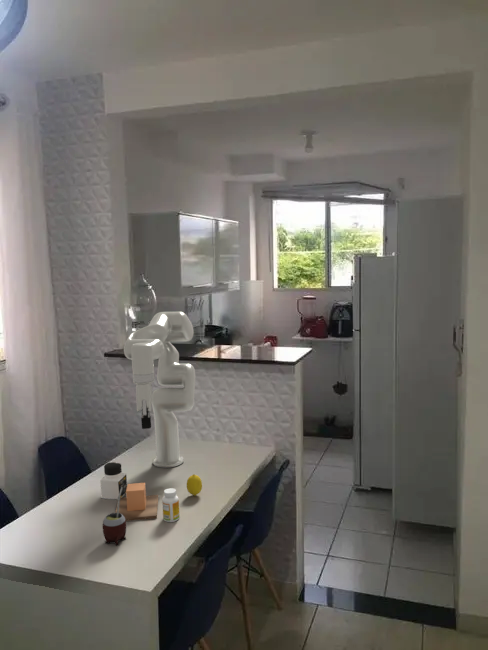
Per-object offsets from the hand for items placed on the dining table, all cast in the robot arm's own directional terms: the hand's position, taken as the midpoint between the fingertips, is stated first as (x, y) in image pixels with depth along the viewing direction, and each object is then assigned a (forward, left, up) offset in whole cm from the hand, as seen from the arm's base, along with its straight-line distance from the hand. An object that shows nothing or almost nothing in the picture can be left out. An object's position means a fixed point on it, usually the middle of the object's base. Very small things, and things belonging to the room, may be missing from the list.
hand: (146, 427), depth 201 cm
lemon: (+4, +16, -25) cm, 30 cm away
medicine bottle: (-2, -13, -25) cm, 29 cm away
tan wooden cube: (+11, -4, -24) cm, 27 cm away
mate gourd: (+31, -9, -25) cm, 41 cm away
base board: (+11, -4, -25) cm, 28 cm away
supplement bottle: (+20, +8, -25) cm, 33 cm away
